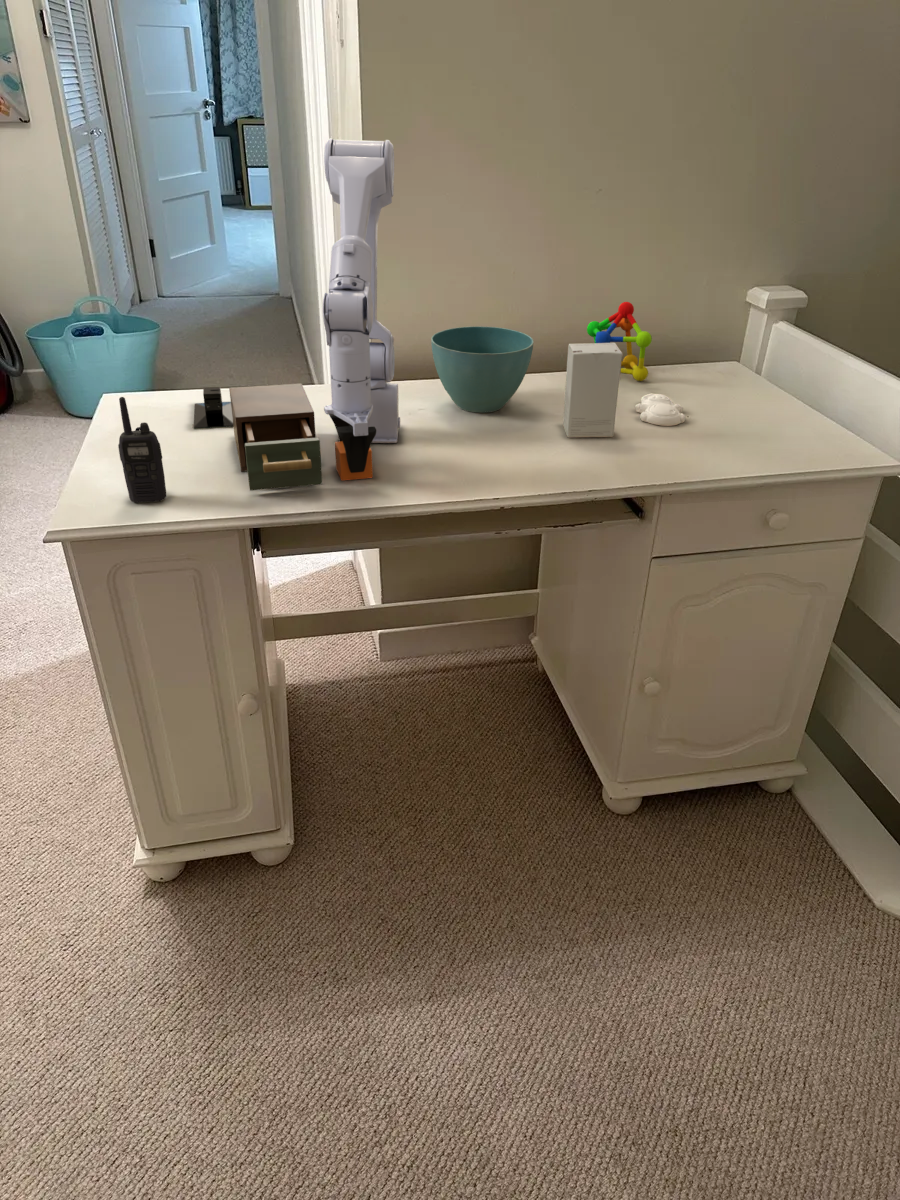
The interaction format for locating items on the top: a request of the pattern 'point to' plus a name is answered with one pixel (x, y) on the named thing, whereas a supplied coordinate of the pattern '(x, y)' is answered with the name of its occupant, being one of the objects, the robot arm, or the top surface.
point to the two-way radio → (141, 461)
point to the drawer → (281, 454)
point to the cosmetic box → (591, 389)
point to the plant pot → (481, 365)
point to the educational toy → (624, 339)
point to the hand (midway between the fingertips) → (353, 464)
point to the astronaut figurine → (660, 410)
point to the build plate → (212, 411)
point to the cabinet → (267, 409)
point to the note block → (344, 468)
